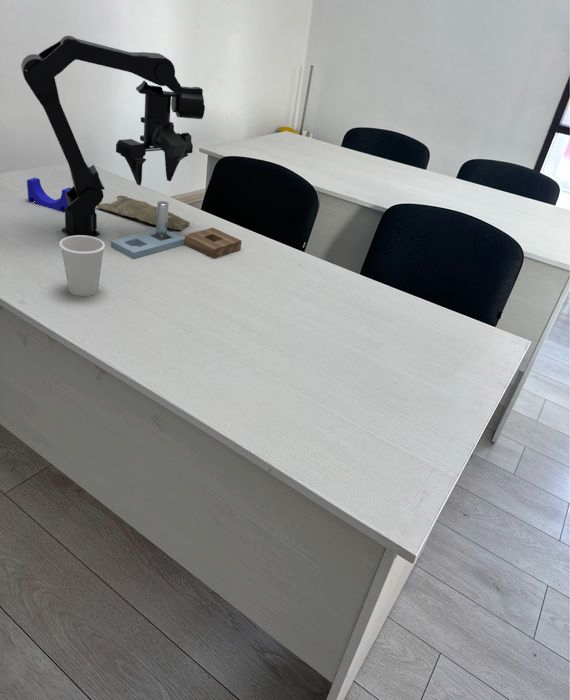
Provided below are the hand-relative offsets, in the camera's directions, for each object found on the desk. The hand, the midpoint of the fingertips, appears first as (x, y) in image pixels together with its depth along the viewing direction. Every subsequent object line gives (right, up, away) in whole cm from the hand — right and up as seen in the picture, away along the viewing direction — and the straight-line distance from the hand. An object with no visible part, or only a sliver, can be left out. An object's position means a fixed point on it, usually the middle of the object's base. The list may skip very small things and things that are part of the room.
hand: (154, 182), depth 141 cm
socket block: (+14, -15, +5) cm, 21 cm away
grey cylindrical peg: (+1, -14, +3) cm, 14 cm away
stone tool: (-6, -5, +16) cm, 18 cm away
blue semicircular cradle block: (-29, -3, +12) cm, 32 cm away
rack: (-1, -15, 0) cm, 15 cm away
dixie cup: (-9, -29, -23) cm, 38 cm away
